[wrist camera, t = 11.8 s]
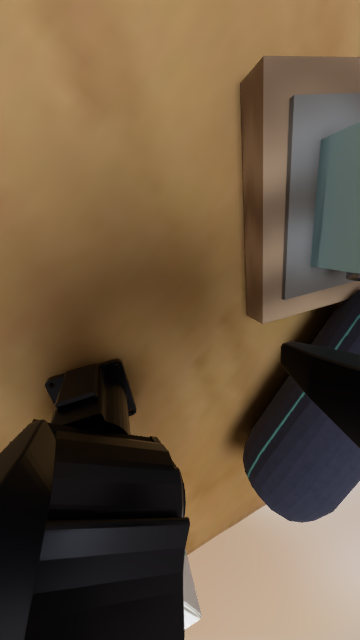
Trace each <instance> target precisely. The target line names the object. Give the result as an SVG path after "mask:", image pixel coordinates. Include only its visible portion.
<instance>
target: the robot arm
mask: <svg viewBox="0 0 360 640" xmlns="http://www.w3.org/2000/svg"><path fill="white" fill-rule="evenodd" d="M280 360H281V364H282V366H283V367H284V369H285V370H286V371H287V372H288V373H289V375H290V376H291V377H292V378H293V379H294V381H295V382H296V383H297V384H298V386H299V387H300V388H301V389H302V390H303V392H304V393H305V394H306V395H307V396H308V397H309V398H310V399H311V400H312V401H313V402H314V403H315V404H316V405H317V406H318V407H319V408H320V409H321V410H322V411H323V412H324V413H325V414H326V415H327V416H328V417H329V418H330V419H331V420H332V421H333V422H334V423H335V424H336V425H337V426H338V427H339V428H340V429H341V430H342V431H343V432H344V433H345V434H346V435H347V436H348V437H349V438H350V440H351V441H352V442H353V443H354V444H355V445H356V446H357V447H358V448H359V449H360V354H356V353H351V352H346V351H341V350H336V349H331V348H325V347H320V346H315V345H310V344H305V343H300V342H294V341H290V342H286V343H283V344H282V346H281V359H280ZM115 364H119V366H114V365H115ZM50 383H54V385H51V384H50ZM45 387H46V389H47V391H48V393H49V395H50V397H51V399H52V401H53V403H54V405H55V410H54V413H53V416H52V420H51V423H47V422H46V421H45V420H36V419H33V421H32V423H30V424H29V425H28V426H27V427H26V428H25V429H24V430H23V431H22V432H21V433H20V434H19V435H18V436H17V437H16V438H15V439H14V440H13V441H11V442H10V444H9V445H8V446H7V447H6V448H5V449H4V450H3V451H2V452H1V453H0V640H184V601H183V569H184V556H185V546H186V541H187V536H188V531H189V526H190V521H189V518H188V517H184V516H185V504H186V501H185V489H184V483H183V479H182V476H181V472H180V470H179V468H178V467H176V465H175V464H174V462H173V461H172V459H171V457H170V454H169V451H168V450H167V449H166V448H165V447H164V445H163V444H161V442H160V441H159V439H158V438H157V437H153V436H150V437H142V436H135V435H131V434H130V424H129V416H131V415H134V414H135V413H136V406H135V403H134V399H133V396H132V393H131V390H130V386H129V383H128V380H127V376H126V373H125V370H124V367H123V363H122V361H121V360H118V359H116V360H112V361H108V362H105V363H101V364H93V365H89V366H86V367H82V368H78V369H75V370H71V371H68V372H66V374H62V375H59V376H55V377H52V378H49V379H48V380H47V381H46V384H45ZM131 409H133V410H132V411H130V410H131Z"/></svg>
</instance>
